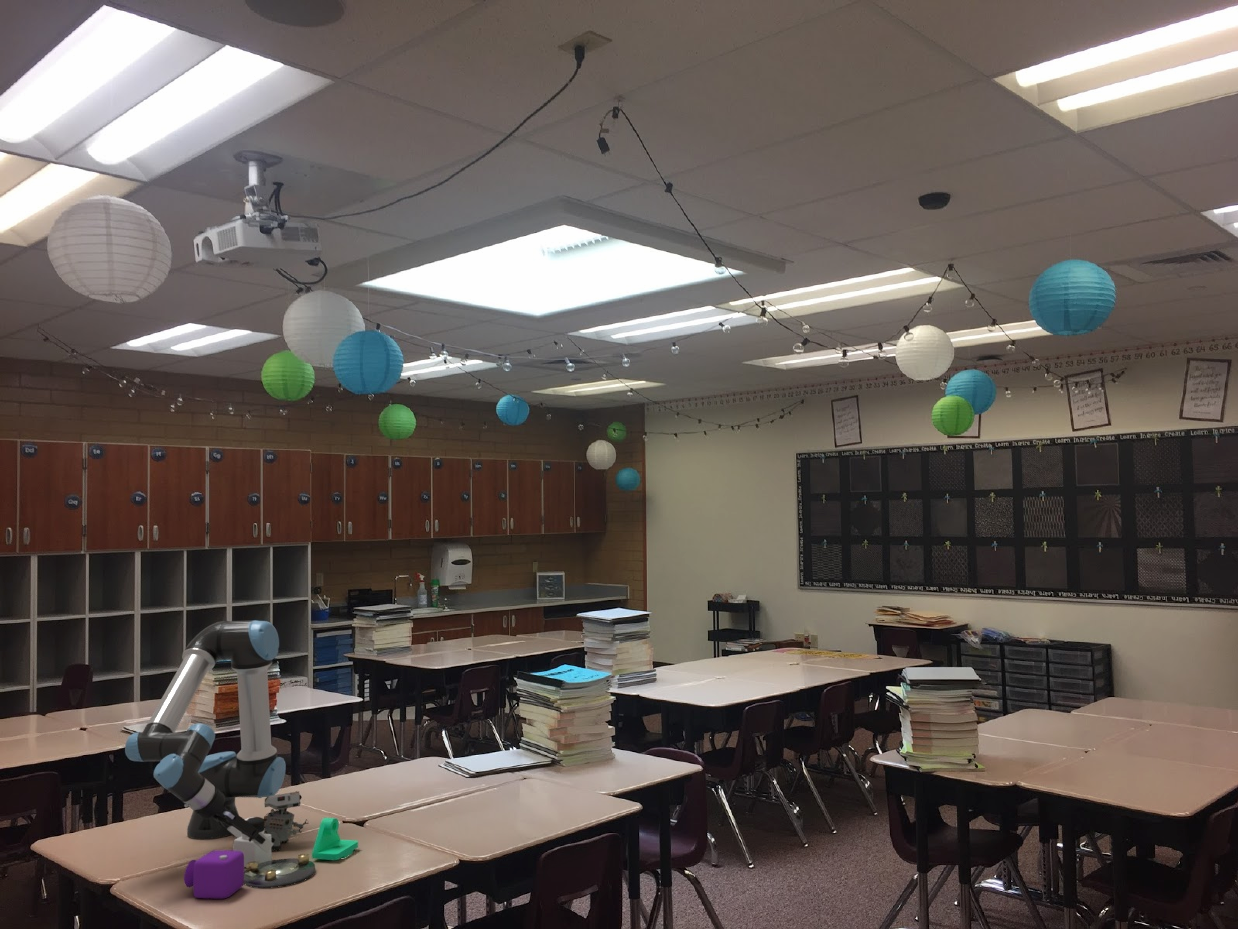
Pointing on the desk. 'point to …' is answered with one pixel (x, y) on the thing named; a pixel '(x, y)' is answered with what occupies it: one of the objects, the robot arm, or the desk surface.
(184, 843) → the desk surface
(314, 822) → the desk surface
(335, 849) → the camera mount
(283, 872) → the plate
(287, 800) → the figurine
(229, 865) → the toy camera
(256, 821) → the medicine bottle
